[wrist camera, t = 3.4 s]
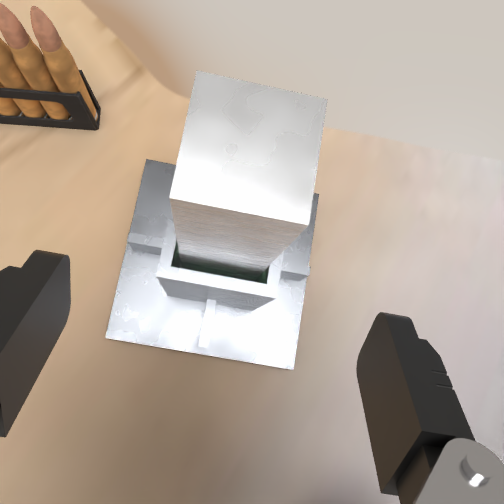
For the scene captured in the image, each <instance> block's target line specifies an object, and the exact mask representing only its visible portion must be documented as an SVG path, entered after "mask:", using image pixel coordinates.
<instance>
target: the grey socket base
mask: <svg viewBox="0 0 504 504" xmlns="http://www.w3.org/2000/svg"><path fill="white" fill-rule="evenodd" d="M175 169H176V165H173V164H168V163H163V162H158V161H153V160H148V159H146V163H145V167H144V172H143V176H142V180H141V185H140V189H139V193H138V198H137V202H136V207H135V211H134V215H133V220H132V224H131V228H130V232H129V234H128V238H127V246H126V250H125V254H124V259H123V263H122V267H121V272H120V276H119V281H118V285H117V289H116V294H115V298H114V302H113V307H112V311H111V315H110V320H109V324H108V328H107V333H106V337H105V338H109V339H114V340H120V341H126V342H132V343H138V344H144V345H150V346H156V347H161V348H167V349H173V350H179V351H185V352H191V353H197V354H203V355H209V356H214V357H220V358H226V359H232V360H238V361H244V362H250V363H256V364H262V365H267V366H273V367H279V368H285V369H291V370H293V369H294V363H295V356H296V349H297V342H298V335H299V328H300V321H301V314H302V307H303V301H304V294H305V287H306V280H307V277H308V276H309V274H310V267H309V259H310V252H311V246H312V239H313V232H314V225H315V218H316V211H317V204H318V197H319V194H316V193H313V200H312V207H311V214H310V220H309V225H308V226H307V228H306V229H305V230H304V231H303V232H302V233H301V234H300V235H299V236H298V237H297V238H296V239H295V240H294V241H293V242H292V243H291V244H290V245H289V246H288V247H287V248H286V249H285V250H284V251H283V252H282V253H281V254H280V255H279V256H278V257H277V258H276V259H275V260H274V261H273V262H272V263H271V264H270V265H269V266H268V267H267V268H266V269H265V271H264V272H263V273H262V274H261V275H260V276H259V277H258V278H257V279H256V280H255V281H254V282H252V281H246V280H241V279H236V278H230V277H225V276H219V275H214V274H208V273H203V272H198V271H192V270H187V269H182V266H181V260H180V255H179V249H178V243H177V238H176V232H175V227H174V221H173V216H172V210H171V204H170V199H169V197H170V192H171V187H172V183H173V178H174V174H175Z"/></svg>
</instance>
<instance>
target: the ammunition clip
mask: <svg viewBox="0 0 504 504" xmlns="http://www.w3.org/2000/svg"><path fill="white" fill-rule="evenodd" d="M30 15H31V23H32V28H33V31H34V34H35V36H36V38H37V40H38V42H39V46H40V48H41V50H42V52H43V54H42V52H41V51H40V49H39V48H38V47H37V46H36V45H35V44H34V43H33V41H32V40H31V38H30V36H29V35H28V34H27V33H26V31H25V29H24V27H23V26H22V24H21V23H20V21H19V20H18V19H17V17H16V16H15V15H14V14H13V13H12V12H11V11H10V10H9V9H8V8H7V7H5V6H4V5H3V4H1V3H0V30H1V32H2V34H3V36H4V38H5V40H6V41H7V44H8V45H7V44H6V43H5V42H4V41H3V40H2V39H1V38H0V123H1V124H14V125H28V126H42V127H56V128H69V129H83V130H98V129H99V120H100V109H101V108H100V106H99V104H98V102H97V100H96V98H95V96H94V94H93V92H92V90H91V88H90V86H89V84H88V82H87V80H86V78H85V76H84V74H83V72H82V70H78V68H77V66H76V63H75V61H74V59H73V57H72V55H71V53H70V51H69V50H68V49H67V48H66V46H65V45H64V43H63V41H62V40H61V38H60V36H59V34H58V32H57V30H56V28H55V27H54V25H53V24H52V22H51V21H50V19H49V18H48V17H47V16H46V14H45V13H44V12H43V11H41V10H40V9H39V8H38V7H36V6H32V7H31V11H30Z"/></svg>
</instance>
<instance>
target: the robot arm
mask: <svg viewBox="0 0 504 504" xmlns="http://www.w3.org/2000/svg"><path fill="white" fill-rule="evenodd" d="M70 304H71V293H70V259H69V256H68V255H64V254H58V253H52V252H47V251H41V250H35V251H34V252H33V253H32V254H31V256H30V257H29V258H28V260H27V261H26V262H25V263H24V265H23V266H22V267H21V268H18V267H13V266H8V267H7V268H5V269H3V270H1V271H0V437H6V436H7V434H8V432H9V430H10V428H11V427H12V425H13V423H14V421H15V419H16V417H17V415H18V413H19V412H20V410H21V408H22V406H23V404H24V402H25V400H26V398H27V396H28V395H29V393H30V391H31V389H32V387H33V385H34V383H35V381H36V380H37V378H38V376H39V374H40V372H41V370H42V368H43V366H44V364H45V363H46V361H47V359H48V357H49V355H50V353H51V351H52V349H53V348H54V346H55V344H56V342H57V340H58V338H59V336H60V334H61V332H62V331H63V329H64V327H65V325H66V322H67V319H68V316H69V311H70ZM357 378H358V383H359V388H360V393H361V398H362V403H363V408H364V413H365V417H366V422H367V427H368V432H369V437H370V442H371V447H372V452H373V456H374V461H375V466H376V471H377V476H378V481H379V486H380V491H381V493H383V494H390V495H397V496H399V499H400V504H504V464H503V463H502V462H501V460H500V459H499V458H498V457H497V456H496V455H495V454H494V453H493V452H492V451H490V450H489V449H488V448H486V447H485V446H483V445H481V444H480V443H477V442H476V441H475V439H474V436H473V434H472V432H471V429H470V427H469V424H468V422H467V420H466V417H465V415H464V412H463V410H462V408H461V405H460V403H459V400H458V398H457V396H456V393H455V391H454V390H452V387H453V386H452V384H451V381H450V379H449V376H447V372H446V369H445V367H444V364H443V362H442V360H441V357H440V355H439V354H438V353H437V352H436V351H435V349H434V348H433V347H432V346H431V345H430V344H429V342H428V341H427V340H424V339H419V338H418V335H417V333H416V330H415V327H414V325H413V322H412V320H411V319H410V318H409V317H405V316H400V315H394V314H389V313H383V312H380V313H379V314H378V315H377V316H376V318H375V320H374V322H373V325H372V327H371V329H370V331H369V333H368V335H367V338H366V340H365V342H364V344H363V346H362V348H361V350H360V353H359V356H358V360H357Z"/></svg>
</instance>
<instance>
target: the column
mask: <svg viewBox="0 0 504 504" xmlns="http://www.w3.org/2000/svg"><path fill="white" fill-rule="evenodd" d="M326 105H327V99H324V98H319V97H315V96H311V95H306V94H302V93H296V92H293V91H288V90H284V89H279V88H275V87H270V86H265V85H261V84H256V83H252V82H247V81H243V80H238V79H234V78H229V77H225V76H220V75H215V74H211V73H207V72H202V71H198V70H197V72H196V76H195V81H194V85H193V90H192V95H191V99H190V104H189V108H188V113H187V118H186V122H185V127H184V132H183V136H182V141H181V146H180V150H179V155H178V160H177V164H176V169H175V174H174V178H173V183H172V187H171V192H170V197H169V199H170V204H171V210H172V216H173V221H174V227H175V232H176V238H177V243H178V249H179V255H180V260H181V266H182V269H187V270H192V271H198V272H203V273H208V274H214V275H219V276H225V277H230V278H236V279H241V280H246V281H252V282H254V281H255V280H256V279H257V278H258V277H259V276H260V275H261V274H262V273H263V272H264V271H265V269H266V268H267V267H268V266H269V265H270V264H271V263H272V262H273V261H274V260H275V259H276V258H277V257H278V256H279V255H280V254H281V253H282V252H283V251H284V250H285V249H286V248H287V247H288V246H289V245H290V244H291V243H292V242H293V241H294V240H295V239H296V238H297V237H298V236H299V235H300V234H301V233H302V232H303V231H304V230H305V229H306V228H307V226H308V225H309V220H310V214H311V207H312V200H313V193H314V187H315V180H316V173H317V166H318V160H319V153H320V146H321V139H322V133H323V126H324V119H325V112H326Z"/></svg>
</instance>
